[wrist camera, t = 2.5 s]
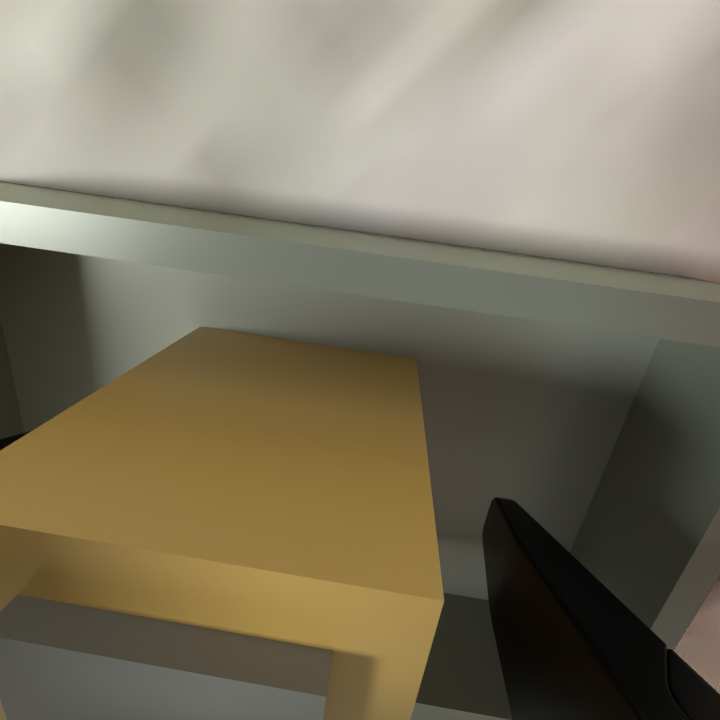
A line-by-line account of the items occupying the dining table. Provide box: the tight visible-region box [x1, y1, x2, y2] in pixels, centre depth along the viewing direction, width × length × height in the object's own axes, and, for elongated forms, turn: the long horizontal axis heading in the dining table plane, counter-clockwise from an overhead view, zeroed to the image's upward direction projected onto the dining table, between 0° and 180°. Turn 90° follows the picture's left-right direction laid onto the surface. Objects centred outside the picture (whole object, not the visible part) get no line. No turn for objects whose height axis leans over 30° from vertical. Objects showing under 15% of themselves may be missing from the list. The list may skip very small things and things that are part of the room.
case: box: [0, 182, 720, 720], centre depth 9 cm, size 16×11×4 cm, turn 83°
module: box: [0, 327, 444, 720], centre depth 7 cm, size 5×5×6 cm
